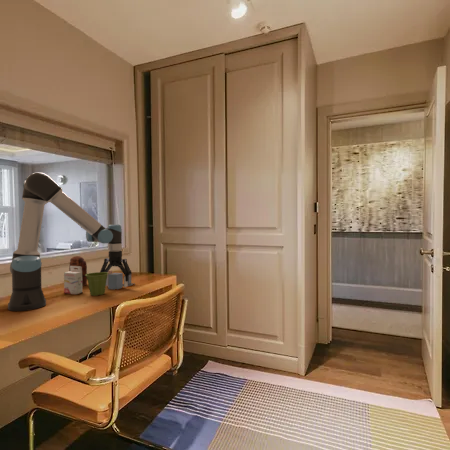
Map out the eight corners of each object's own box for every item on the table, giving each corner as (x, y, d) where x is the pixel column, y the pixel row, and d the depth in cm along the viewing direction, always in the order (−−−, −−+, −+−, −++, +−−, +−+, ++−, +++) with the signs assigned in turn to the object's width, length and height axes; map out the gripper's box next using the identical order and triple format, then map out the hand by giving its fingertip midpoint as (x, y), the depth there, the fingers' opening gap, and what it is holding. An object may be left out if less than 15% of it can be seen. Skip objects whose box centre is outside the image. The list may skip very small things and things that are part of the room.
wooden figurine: (65, 286, 189) (65, 256, 188) (71, 283, 195) (71, 255, 195) (84, 286, 188) (83, 257, 188) (89, 284, 194) (89, 255, 194)
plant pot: (109, 290, 177) (109, 271, 176) (108, 295, 165) (108, 275, 165) (86, 292, 173) (86, 272, 172) (84, 297, 162) (84, 276, 161)
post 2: (129, 286, 189) (129, 271, 188) (121, 285, 190) (121, 271, 190) (135, 284, 194) (134, 269, 194) (126, 283, 196) (126, 269, 196)
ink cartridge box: (63, 293, 171) (63, 267, 170) (70, 291, 176) (70, 265, 175) (76, 294, 169) (76, 267, 168) (82, 292, 173) (82, 266, 173)
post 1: (110, 286, 188) (109, 271, 187) (101, 285, 189) (101, 271, 189) (116, 284, 193) (115, 270, 193) (107, 283, 195) (107, 269, 195)
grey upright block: (116, 289, 180) (116, 274, 179) (108, 288, 181) (108, 274, 181) (122, 287, 185) (122, 273, 185) (114, 286, 187) (114, 272, 187)
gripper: (137, 250, 183) (137, 285, 184) (101, 249, 190) (102, 283, 190) (130, 251, 176) (130, 288, 176) (93, 250, 182) (93, 286, 183)
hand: (115, 286), depth 183 cm, fingers open, 13 cm apart
